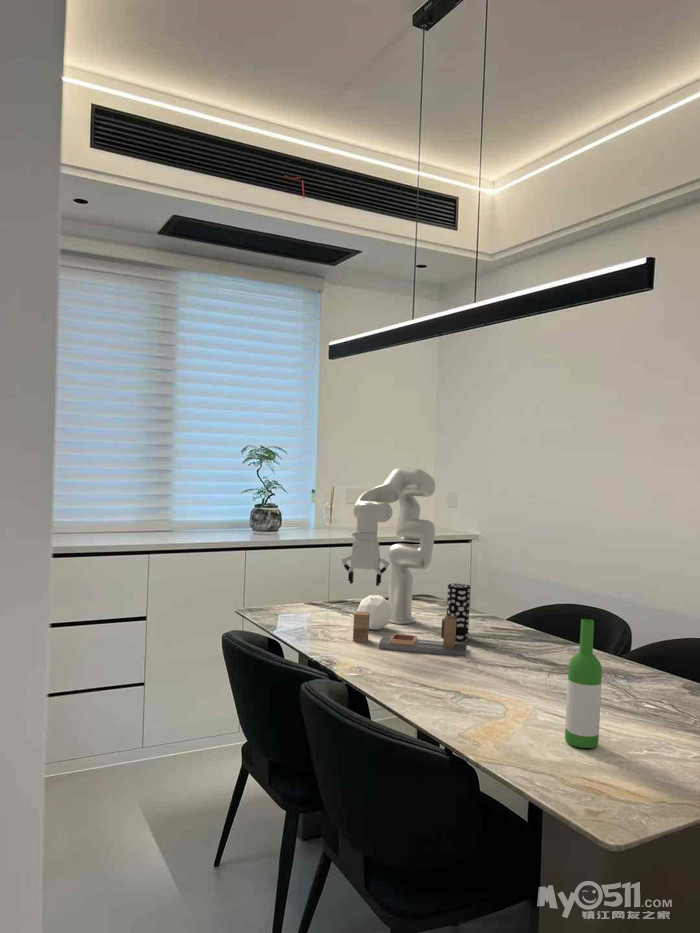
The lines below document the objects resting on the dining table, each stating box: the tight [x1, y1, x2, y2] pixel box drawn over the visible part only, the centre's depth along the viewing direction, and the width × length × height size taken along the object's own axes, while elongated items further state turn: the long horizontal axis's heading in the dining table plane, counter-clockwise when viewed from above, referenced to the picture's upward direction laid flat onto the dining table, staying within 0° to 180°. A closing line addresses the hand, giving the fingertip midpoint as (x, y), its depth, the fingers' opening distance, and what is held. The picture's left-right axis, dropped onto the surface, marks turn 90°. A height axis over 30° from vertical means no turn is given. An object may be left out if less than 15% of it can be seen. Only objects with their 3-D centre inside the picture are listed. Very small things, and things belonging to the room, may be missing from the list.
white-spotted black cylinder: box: [446, 583, 471, 643], centre depth 268 cm, size 8×8×20 cm
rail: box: [378, 614, 468, 658], centre depth 251 cm, size 10×30×12 cm, turn 80°
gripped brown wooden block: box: [352, 610, 370, 643], centre depth 259 cm, size 5×5×10 cm
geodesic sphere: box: [356, 594, 392, 631], centre depth 277 cm, size 14×14×14 cm
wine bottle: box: [564, 618, 603, 749], centre depth 172 cm, size 8×8×30 cm
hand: (364, 584), depth 259 cm, fingers open, 9 cm apart
